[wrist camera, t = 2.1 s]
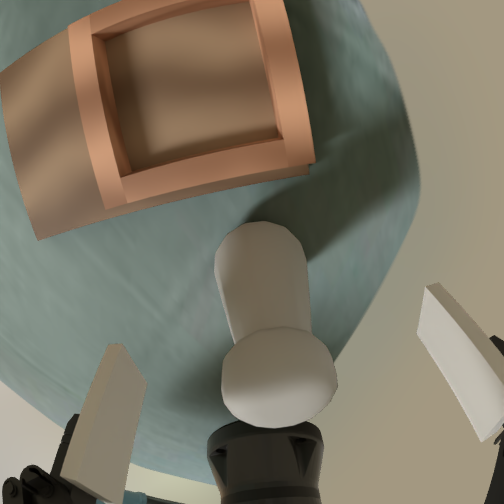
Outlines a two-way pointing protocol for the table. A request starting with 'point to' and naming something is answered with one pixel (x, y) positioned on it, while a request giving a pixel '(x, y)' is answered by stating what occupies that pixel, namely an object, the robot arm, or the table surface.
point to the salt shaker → (270, 329)
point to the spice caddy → (154, 109)
